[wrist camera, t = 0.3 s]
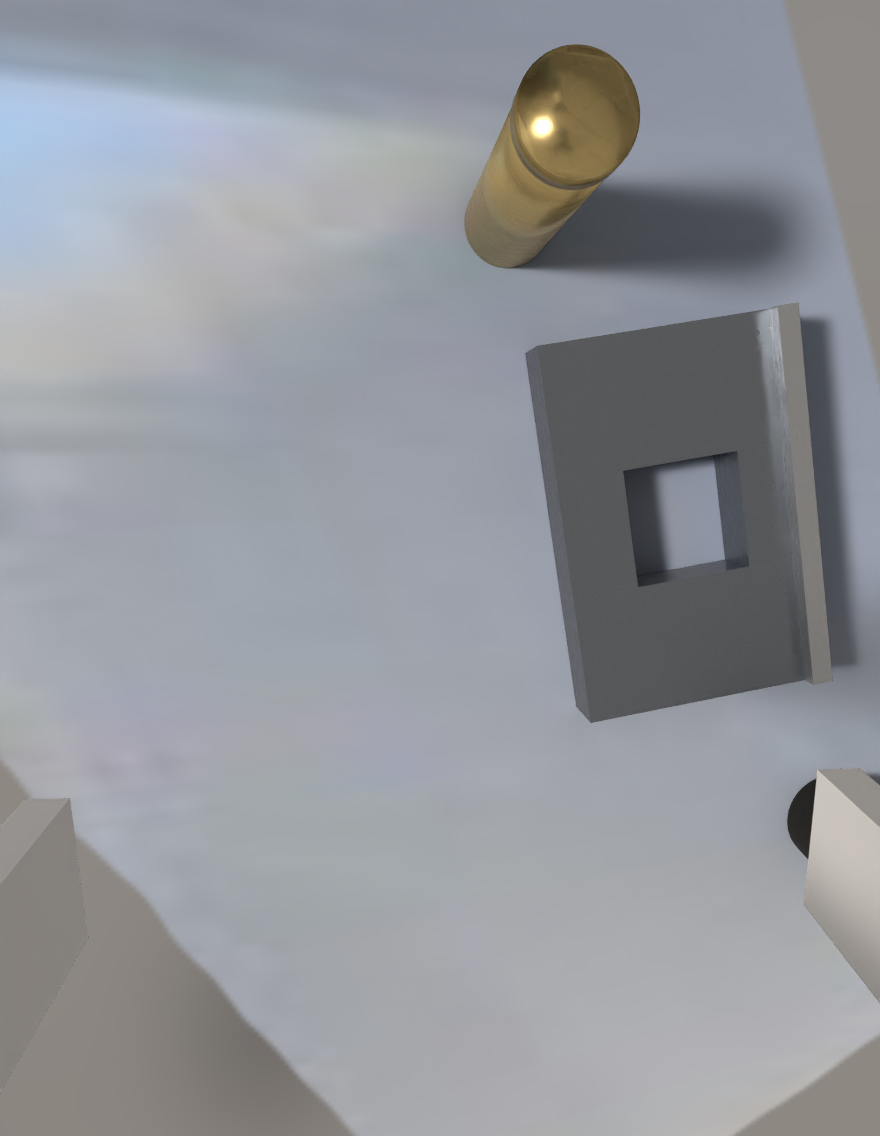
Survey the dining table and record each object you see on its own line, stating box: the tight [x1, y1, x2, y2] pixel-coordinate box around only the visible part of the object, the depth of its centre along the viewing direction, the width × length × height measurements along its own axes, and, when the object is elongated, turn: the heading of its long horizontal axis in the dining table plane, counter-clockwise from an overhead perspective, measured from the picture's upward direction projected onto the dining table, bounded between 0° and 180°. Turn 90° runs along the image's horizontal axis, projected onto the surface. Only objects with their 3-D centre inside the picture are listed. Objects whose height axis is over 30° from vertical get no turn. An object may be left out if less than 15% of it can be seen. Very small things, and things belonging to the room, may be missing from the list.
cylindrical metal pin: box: [465, 45, 640, 268], centre depth 31 cm, size 4×4×12 cm
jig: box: [525, 302, 833, 723], centre depth 38 cm, size 18×12×3 cm, turn 9°
